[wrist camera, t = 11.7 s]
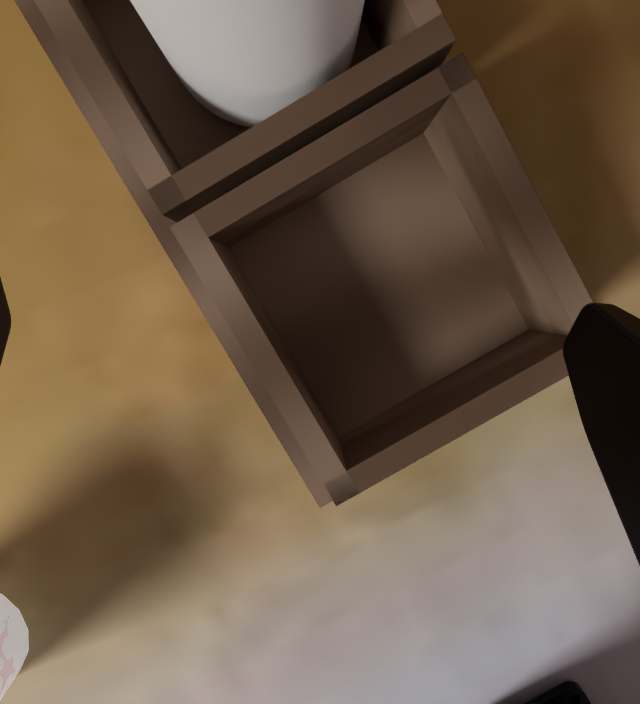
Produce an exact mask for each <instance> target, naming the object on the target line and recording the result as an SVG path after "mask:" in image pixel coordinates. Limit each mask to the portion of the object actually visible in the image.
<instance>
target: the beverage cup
mask: <svg viewBox="0 0 640 704" xmlns="http://www.w3.org/2000/svg"><path fill="white" fill-rule="evenodd" d="M28 651H29V639H28V628H27V626H26V624H25V621H24V619H23V617H22V615H21V613H20V611H19V609H18V608H17V607H16V606H15V605H13V604H12V603H11V602H10V601H9V600H8V599H7V598H6V597H5V596H4V595H3V594H0V700H1V698H2V697H3V695H4V694H5V692H6V691H7V689H8V688H9V686H10V685H11V683H12V682H13V680H14V679H15V677H16V676H17V674H18V673H19V671H20V670H21V667H22V665H23V663H24V660H25V658H26V656H27V653H28Z"/></svg>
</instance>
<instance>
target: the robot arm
mask: <svg viewBox="0 0 640 704" xmlns="http://www.w3.org/2000/svg"><path fill="white" fill-rule="evenodd" d="M10 328H11V315H10V310H9V307H8V303H7V299H6V296H5V292H4V289H3V285H2V281H1V278H0V365H1V362H2V358H3V354H4V351H5V347H6V343H7V340H8V336H9V333H10ZM563 357H564V360H565V364H566V367H567V371H568V374H569V378H570V381H571V385H572V388H573V392H574V396H575V399H576V403H577V406H578V410H579V413H580V417H581V420H582V423H583V426H584V429H585V432H586V435H587V438H588V440H589V443H590V446H591V448H592V451H593V453H594V455H595V458H596V460H597V463H598V465H599V468H600V470H601V473H602V475H603V477H604V480H605V482H606V485H607V487H608V490H609V492H610V495H611V497H612V499H613V502H614V504H615V507H616V509H617V512H618V514H619V517H620V519H621V521H622V524H623V526H624V529H625V531H626V534H627V536H628V539H629V541H630V543H631V546H632V548H633V551H634V553H635V556H636V558H637V560H638V563H639V565H640V319H639V318H637V317H635V316H634V315H632V314H630V313H628V312H626V311H624V310H623V309H621V308H619V307H617V306H615V305H612V304H604V303H589V304H586V305H585V306H584V307H583V308H582V309H581V311H580V313H579V314H578V316H577V318H576V320H575V322H574V324H573V326H572V328H571V330H570V331H569V333H568V335H567V337H566V339H565V341H564V345H563ZM571 694H575V696H574V697H573V698H568V697H569V696H570V695H571ZM526 704H591V703H590V701H589V700H588V698H587V696H586V694H585V693H584V691H583V690H582V688H581V687H580V686H579V685H578V684H577V683H575V682H573V681H568V682H565V683H563V684H561V685H559V686H557V687H555V688H553V689H552V690H550V691H548V692H546V693H544V694H542V695H540V696H539V697H537V698H535V699H533V700H531V701H529V702H527V703H526Z"/></svg>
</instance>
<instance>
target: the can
mask: <svg viewBox="0 0 640 704" xmlns="http://www.w3.org/2000/svg"><path fill="white" fill-rule="evenodd" d="M130 1H131V3H132V4H133V6H134V8H135V9H136V11H137V13H138V14H139V16H140V17H141V19H142V20H143V22H144V24H145V25H146V27H147V28H148V30H149V32H150V33H151V35H152V36H153V38H154V40H155V41H156V43H157V44H158V46H159V48H160V49H161V51H162V52H163V54H164V55H165V57H166V59H167V60H168V62H169V63H170V65H171V66H172V68H173V70H174V71H175V73H176V74H177V76H178V77H179V79H180V80H181V82H182V83H183V84H184V86H185V87H186V88H187V90H188V91H189V92H190V93H191V95H192V96H193V97H194V98H195V99H196V100H197V101H198V102H199V103H200V104H201V105H203V106H204V107H205V108H206V109H208V110H209V111H210V112H212V113H213V114H215V115H217V116H219V117H220V118H222V119H224V120H227V121H229V122H232V123H235V124H238V125H242V126H246V127H253V126H255V125H257V124H258V123H260V122H262V121H263V120H265V119H267V118H268V117H270V116H272V115H273V114H275V113H277V112H278V111H280V110H282V109H283V108H285V107H287V106H288V105H290V104H292V103H293V102H295V101H297V100H298V99H300V98H302V97H303V96H305V95H307V94H308V93H310V92H312V91H313V90H315V89H317V88H318V87H320V86H322V85H323V84H325V83H327V82H328V81H330V80H332V79H333V78H335V77H337V76H338V75H340V74H342V73H343V72H345V71H347V70H348V69H349V67H350V64H351V62H352V59H353V55H354V51H355V47H356V43H357V38H358V33H359V28H360V22H361V17H362V12H363V7H364V1H365V0H130Z"/></svg>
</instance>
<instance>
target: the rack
mask: <svg viewBox="0 0 640 704" xmlns="http://www.w3.org/2000/svg"><path fill="white" fill-rule="evenodd" d="M15 2H16V4H17V5H18V7H19V9H20V10H21V12H22V14H23V15H24V17H25V19H26V20H27V22H28V24H29V25H30V27H31V29H32V30H33V32H34V34H35V35H36V37H37V39H38V40H39V42H40V44H41V45H42V47H43V49H44V50H45V52H46V54H47V55H48V57H49V59H50V60H51V62H52V64H53V65H54V67H55V69H56V70H57V72H58V74H59V75H60V77H61V79H62V80H63V82H64V84H65V85H66V87H67V88H68V90H69V92H70V93H71V95H72V97H73V98H74V100H75V102H76V103H77V105H78V107H79V108H80V110H81V112H82V113H83V115H84V117H85V118H86V120H87V122H88V123H89V125H90V127H91V128H92V130H93V132H94V133H95V135H96V137H97V138H98V140H99V142H100V143H101V145H102V147H103V148H104V150H105V152H106V153H107V155H108V157H109V158H110V160H111V162H112V163H113V165H114V167H115V168H116V170H117V172H118V173H119V175H120V177H121V178H122V180H123V182H124V183H125V185H126V187H127V188H128V190H129V192H130V193H131V195H132V197H133V198H134V200H135V201H136V203H137V205H138V206H139V208H140V210H141V211H142V213H143V215H144V216H145V218H146V220H147V221H148V223H149V225H150V226H151V228H152V230H153V231H154V233H155V235H156V236H157V238H158V240H159V241H160V243H161V245H162V246H163V248H164V250H165V251H166V253H167V255H168V256H169V258H170V260H171V261H172V263H173V265H174V266H175V268H176V270H177V271H178V273H179V275H180V276H181V278H182V280H183V281H184V283H185V285H186V286H187V288H188V290H189V291H190V293H191V295H192V296H193V298H194V300H195V301H196V303H197V305H198V306H199V308H200V309H201V311H202V313H203V314H204V316H205V318H206V319H207V321H208V323H209V324H210V326H211V328H212V329H213V331H214V333H215V334H216V336H217V338H218V339H219V341H220V343H221V344H222V346H223V348H224V349H225V351H226V353H227V354H228V356H229V358H230V359H231V361H232V363H233V364H234V366H235V368H236V369H237V371H238V373H239V374H240V376H241V378H242V379H243V381H244V383H245V384H246V386H247V388H248V389H249V391H250V393H251V394H252V396H253V398H254V399H255V401H256V403H257V404H258V406H259V408H260V409H261V411H262V413H263V414H264V416H265V417H266V419H267V421H268V422H269V424H270V426H271V427H272V429H273V431H274V432H275V434H276V436H277V437H278V439H279V441H280V442H281V444H282V446H283V447H284V449H285V451H286V452H287V454H288V456H289V457H290V459H291V461H292V462H293V464H294V466H295V467H296V469H297V471H298V472H299V474H300V476H301V477H302V479H303V481H304V482H305V484H306V486H307V487H308V489H309V491H310V492H311V494H312V496H313V497H314V499H315V501H316V502H317V504H318V506H319V507H320V508H321V507H322V506H324V505H326V504H328V503H329V502H331V501H334V503H335V505H336V506H337V505H339V504H341V503H343V502H345V501H346V500H348V499H350V498H352V497H353V496H355V495H357V494H359V493H361V492H362V491H364V490H366V489H368V488H369V487H371V486H373V485H375V484H377V483H378V482H380V481H382V480H384V479H385V478H387V477H389V476H391V475H392V474H394V473H396V472H398V471H400V470H401V469H403V468H405V467H407V466H408V465H410V464H412V463H414V462H416V461H417V460H419V459H421V458H423V457H424V456H426V455H428V454H430V453H432V452H433V451H435V450H437V449H439V448H440V447H442V446H444V445H446V444H448V443H449V442H451V441H453V440H455V439H456V438H458V437H460V436H462V435H464V434H465V433H467V432H469V431H471V430H472V429H474V428H476V427H478V426H479V425H481V424H483V423H485V422H487V421H488V420H490V419H492V418H494V417H495V416H497V415H499V414H501V413H503V412H504V411H506V410H508V409H510V408H511V407H513V406H515V405H517V404H519V403H520V402H522V401H524V400H526V399H527V398H529V397H531V396H533V395H535V394H536V393H538V392H540V391H542V390H543V389H545V388H547V387H549V386H551V385H552V384H554V383H556V382H558V381H559V380H561V379H563V378H565V377H566V376H568V375H569V374H568V371H567V367H566V364H565V360H564V357H563V345H564V341H565V339H566V337H567V335H568V333H569V331H570V330H571V328H572V326H573V324H574V322H575V320H576V318H577V316H578V314H579V313H580V311H581V309H582V308H583V307H584V306H585V305H586V304H589V303H593V301H592V300H591V298H590V296H589V294H588V292H587V290H586V288H585V286H584V284H583V282H582V280H581V278H580V276H579V275H578V273H577V271H576V269H575V267H574V265H573V263H572V261H571V259H570V257H569V255H568V253H567V251H566V250H565V248H564V246H563V244H562V242H561V240H560V238H559V236H558V234H557V232H556V230H555V228H554V226H553V225H552V223H551V221H550V219H549V217H548V215H547V213H546V211H545V209H544V207H543V205H542V203H541V201H540V200H539V198H538V196H537V194H536V192H535V190H534V188H533V186H532V184H531V182H530V180H529V178H528V176H527V175H526V173H525V171H524V169H523V167H522V165H521V163H520V161H519V159H518V157H517V155H516V153H515V151H514V150H513V148H512V146H511V144H510V142H509V140H508V138H507V136H506V134H505V132H504V130H503V128H502V126H501V125H500V123H499V121H498V119H497V117H496V115H495V113H494V111H493V109H492V107H491V105H490V103H489V101H488V100H487V98H486V96H485V94H484V92H483V90H482V88H481V86H480V84H479V82H478V80H477V78H476V76H475V75H474V73H473V71H472V69H471V67H470V65H469V63H468V61H467V59H466V57H465V55H464V53H462V54H460V55H458V56H457V57H455V58H453V59H452V60H450V58H449V56H448V53H449V51H450V50H451V48H452V46H453V44H454V43H455V41H456V38H455V36H454V34H453V32H452V30H451V28H450V26H449V25H448V23H447V21H446V19H445V17H444V15H443V13H442V11H441V9H440V7H439V5H438V3H437V1H436V0H365V1H364V7H363V12H362V17H361V22H360V28H359V33H358V38H357V43H356V47H355V51H354V55H353V59H352V62H351V64H350V67H349V69H348V70H347V71H345V72H343V73H342V74H340V75H338V76H337V77H335V78H333V79H332V80H330V81H328V82H327V83H325V84H323V85H322V86H320V87H318V88H317V89H315V90H313V91H312V92H310V93H308V94H307V95H305V96H303V97H302V98H300V99H298V100H297V101H295V102H293V103H292V104H290V105H288V106H287V107H285V108H283V109H282V110H280V111H278V112H277V113H275V114H273V115H272V116H270V117H268V118H267V119H265V120H263V121H262V122H260V123H258V124H257V125H255V126H253V127H246V126H242V125H238V124H235V123H232V122H229V121H227V120H224V119H222V118H220V117H219V116H217V115H215V114H213V113H212V112H210V111H209V110H208V109H206V108H205V107H204V106H203V105H201V104H200V103H199V102H198V101H197V100H196V99H195V98H194V97H193V96H192V95H191V93H190V92H189V91H188V90H187V88H186V87H185V86H184V84H183V83H182V82H181V80H180V79H179V77H178V76H177V74H176V73H175V71H174V70H173V68H172V66H171V65H170V63H169V62H168V60H167V59H166V57H165V55H164V54H163V52H162V51H161V49H160V48H159V46H158V44H157V43H156V41H155V40H154V38H153V36H152V35H151V33H150V32H149V30H148V28H147V27H146V25H145V24H144V22H143V20H142V19H141V17H140V16H139V14H138V13H137V11H136V9H135V8H134V6H133V4H132V3H131V1H130V0H15Z"/></svg>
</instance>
